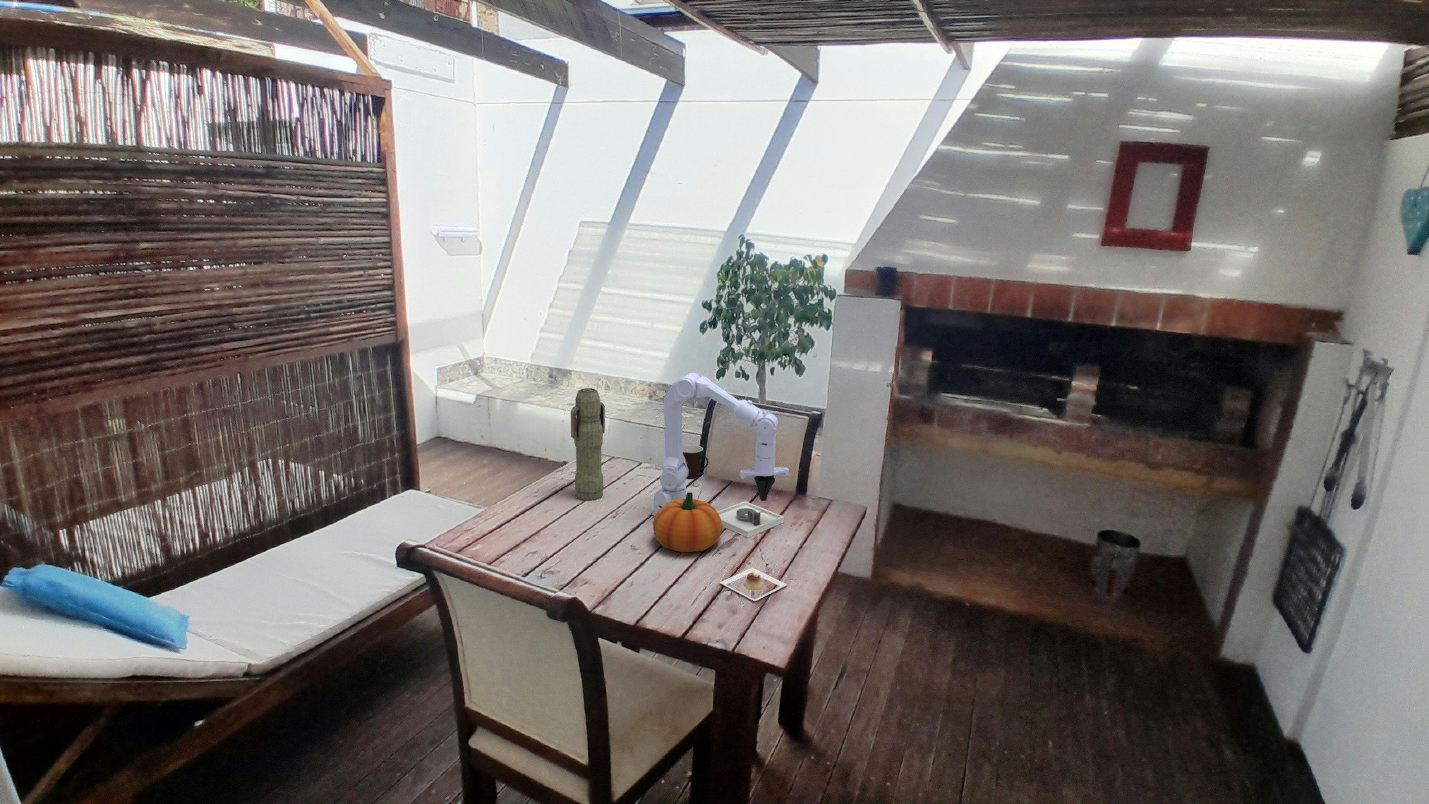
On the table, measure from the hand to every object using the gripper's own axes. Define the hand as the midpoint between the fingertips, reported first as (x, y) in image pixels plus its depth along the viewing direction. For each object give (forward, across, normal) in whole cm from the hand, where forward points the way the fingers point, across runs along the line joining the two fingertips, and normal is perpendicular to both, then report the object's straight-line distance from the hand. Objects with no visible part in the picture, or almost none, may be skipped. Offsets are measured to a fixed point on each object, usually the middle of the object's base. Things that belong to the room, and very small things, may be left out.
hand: (762, 499), depth 210 cm
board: (+8, +3, -4) cm, 10 cm away
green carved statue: (+9, +47, -34) cm, 58 cm away
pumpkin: (+9, +24, +6) cm, 26 cm away
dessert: (+9, +14, +33) cm, 37 cm away
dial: (+7, +3, -2) cm, 8 cm away
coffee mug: (+9, +11, -44) cm, 46 cm away
